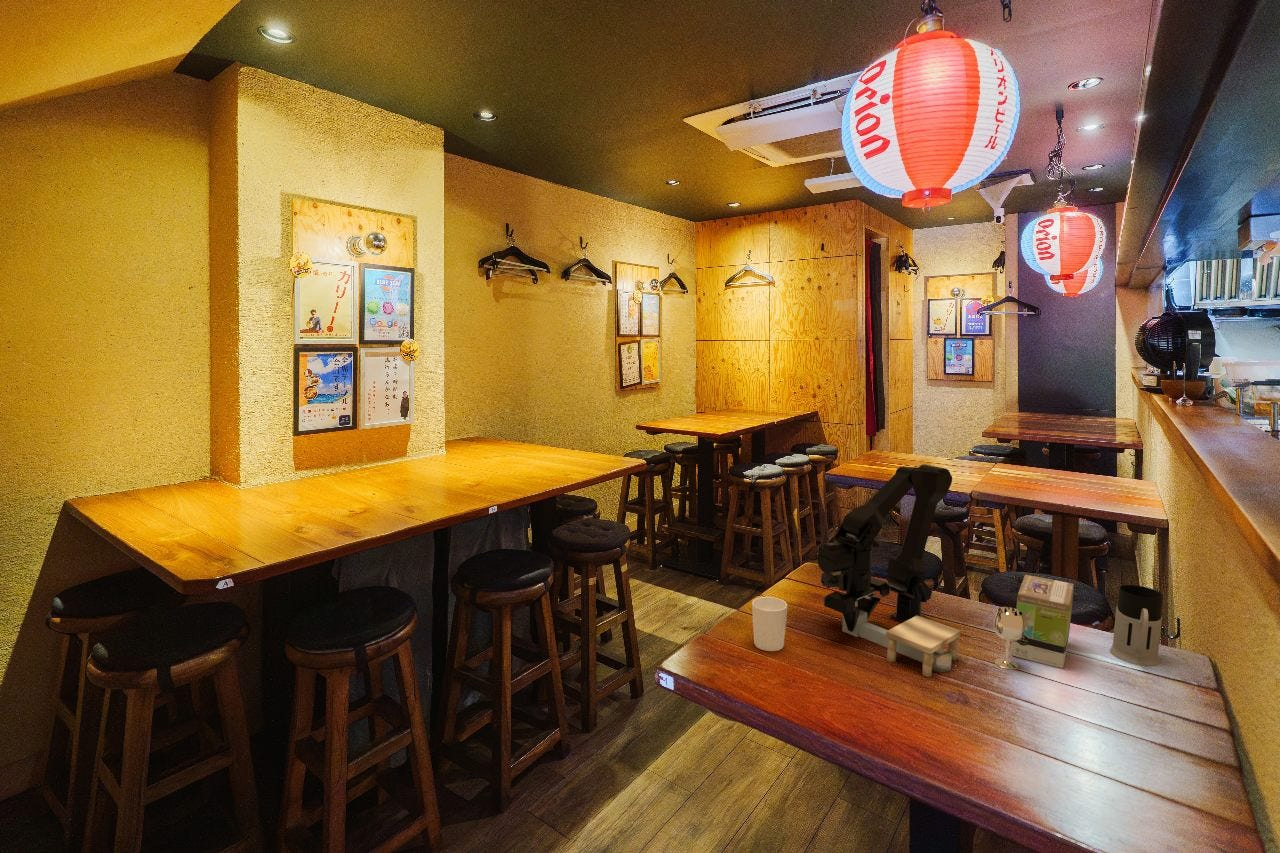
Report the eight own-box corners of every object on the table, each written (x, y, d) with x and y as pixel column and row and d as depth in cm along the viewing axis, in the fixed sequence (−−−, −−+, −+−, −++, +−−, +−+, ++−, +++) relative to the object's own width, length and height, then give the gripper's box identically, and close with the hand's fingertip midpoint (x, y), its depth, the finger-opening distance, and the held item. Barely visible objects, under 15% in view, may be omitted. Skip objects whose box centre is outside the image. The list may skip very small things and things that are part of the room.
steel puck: (932, 657, 138) (933, 644, 138) (955, 666, 134) (956, 653, 134) (920, 664, 135) (921, 651, 135) (943, 674, 131) (944, 661, 131)
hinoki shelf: (915, 641, 145) (916, 615, 145) (959, 658, 138) (960, 630, 137) (884, 659, 137) (886, 631, 137) (929, 678, 130) (930, 648, 129)
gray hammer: (852, 626, 154) (852, 607, 153) (931, 658, 138) (932, 637, 137) (842, 631, 151) (842, 611, 150) (921, 664, 135) (922, 642, 135)
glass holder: (1156, 652, 139) (1163, 588, 137) (1167, 682, 127) (1175, 612, 125) (1107, 643, 144) (1113, 580, 142) (1114, 670, 132) (1120, 603, 130)
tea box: (1065, 670, 132) (1070, 603, 130) (1010, 656, 138) (1015, 592, 136) (1069, 643, 144) (1074, 581, 142) (1018, 631, 150) (1023, 572, 148)
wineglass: (991, 667, 134) (995, 613, 132) (990, 655, 139) (994, 603, 137) (1022, 673, 131) (1027, 619, 130) (1021, 661, 136) (1025, 608, 135)
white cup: (783, 637, 148) (784, 597, 147) (788, 653, 140) (789, 611, 139) (750, 636, 149) (750, 596, 148) (753, 652, 141) (753, 610, 140)
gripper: (852, 549, 160) (849, 607, 162) (805, 565, 149) (803, 627, 151) (892, 561, 151) (889, 622, 153) (846, 579, 140) (843, 644, 142)
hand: (855, 628), depth 150 cm, fingers closed on gray hammer, 4 cm apart
